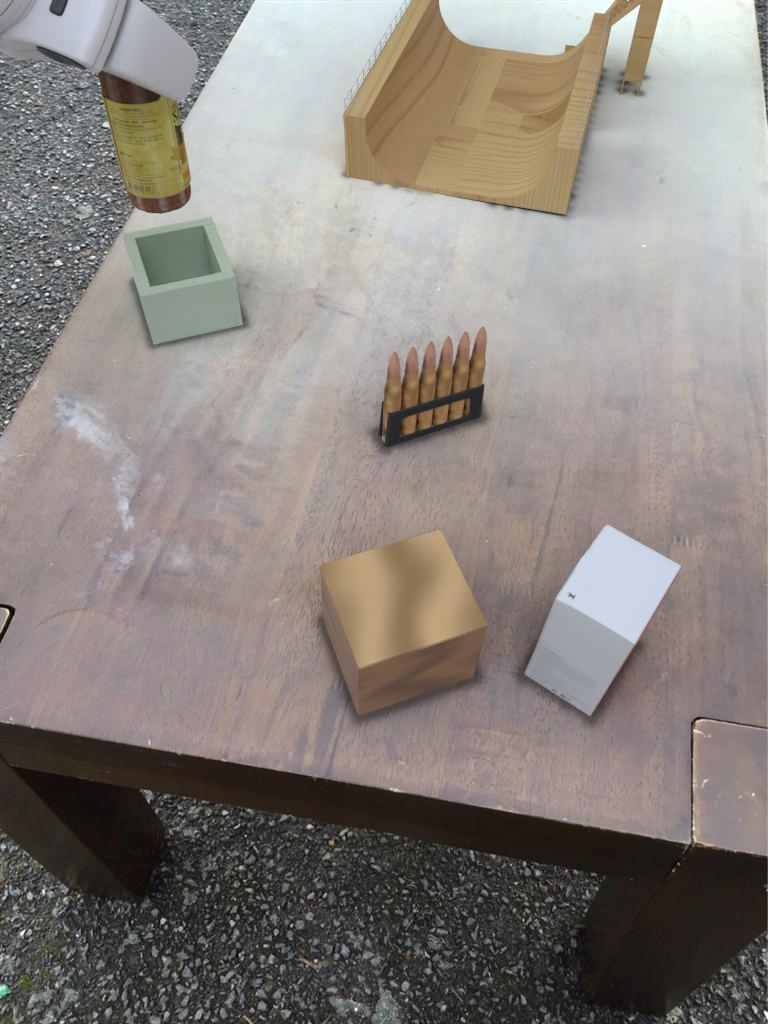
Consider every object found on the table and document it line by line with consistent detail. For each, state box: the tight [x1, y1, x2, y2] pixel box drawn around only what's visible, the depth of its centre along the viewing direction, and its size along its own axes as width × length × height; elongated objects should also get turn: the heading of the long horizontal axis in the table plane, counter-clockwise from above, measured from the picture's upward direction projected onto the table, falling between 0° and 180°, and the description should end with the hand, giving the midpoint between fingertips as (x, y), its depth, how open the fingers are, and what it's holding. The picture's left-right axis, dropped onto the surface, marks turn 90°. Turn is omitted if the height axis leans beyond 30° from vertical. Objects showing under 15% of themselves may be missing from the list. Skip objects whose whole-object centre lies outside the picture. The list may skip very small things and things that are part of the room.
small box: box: [523, 524, 682, 717], centre depth 63 cm, size 8×6×13 cm
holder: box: [121, 216, 244, 346], centre depth 90 cm, size 10×11×7 cm
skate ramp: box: [342, 0, 664, 215], centre depth 111 cm, size 40×35×16 cm
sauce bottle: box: [97, 0, 192, 215], centre depth 70 cm, size 6×6×20 cm
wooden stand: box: [319, 529, 489, 717], centre depth 64 cm, size 10×9×9 cm
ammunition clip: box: [378, 326, 488, 448], centre depth 78 cm, size 11×2×12 cm, turn 114°
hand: (140, 72), depth 70 cm, fingers closed on sauce bottle, 6 cm apart
